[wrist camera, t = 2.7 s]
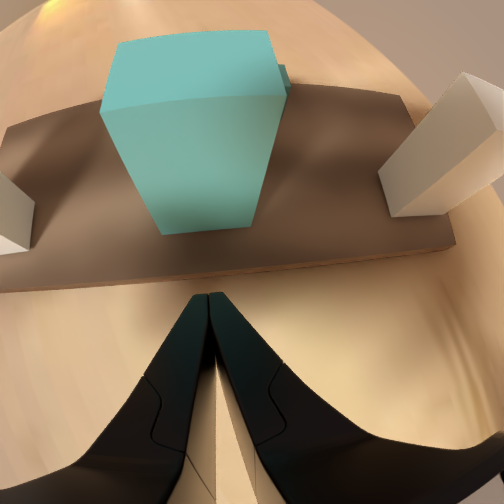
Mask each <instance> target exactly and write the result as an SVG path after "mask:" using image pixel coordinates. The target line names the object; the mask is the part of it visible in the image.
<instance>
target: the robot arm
mask: <svg viewBox="0 0 504 504" xmlns="http://www.w3.org/2000/svg"><path fill="white" fill-rule="evenodd" d="M216 364H217V369H218V374H219V377H220V381H221V385H222V389H223V392H224V396H225V399H226V403H227V407H228V410H229V414H230V417H231V420H232V424H233V427H234V431H235V434H236V437H237V441H238V444H239V447H240V450H241V453H242V457H243V460H244V463H245V466H246V469H247V472H248V475H249V478H250V481H251V484H252V487H253V490H254V493H255V496H256V499H257V502H258V504H504V431H499V432H497V433H495V434H493V435H492V436H491V437H489V438H488V439H486V440H485V441H483V442H482V443H481V444H479V445H477V446H475V447H471V448H467V449H459V450H452V449H442V448H435V447H428V446H422V445H416V444H410V443H405V442H399V441H394V440H389V439H385V438H381V437H378V436H375V435H373V434H371V433H368V432H367V431H365V430H363V429H361V428H360V427H359V426H357V425H356V424H354V423H353V422H352V421H350V420H349V419H348V418H346V417H345V416H344V415H343V414H341V413H340V412H339V411H337V410H336V409H335V408H334V407H332V406H331V405H330V404H328V403H327V402H326V401H325V400H323V399H322V398H321V397H320V396H319V395H317V394H316V393H315V392H314V391H313V390H312V389H310V388H309V387H308V386H307V385H306V384H305V383H304V382H303V381H302V380H301V379H300V378H299V377H298V376H297V375H296V374H295V373H294V372H293V371H292V370H291V369H290V368H289V367H288V366H287V365H286V363H283V360H282V359H281V358H280V357H279V356H278V355H277V354H276V353H275V351H274V350H273V349H272V348H271V347H270V346H269V345H268V344H267V343H266V341H265V340H264V339H263V338H262V337H261V336H260V335H259V333H258V332H257V331H256V330H255V329H254V328H253V327H252V325H251V324H250V323H249V322H248V321H247V320H246V319H245V317H244V316H243V315H242V314H241V313H240V312H239V310H238V309H237V308H236V307H235V306H234V305H233V303H232V302H231V301H230V300H229V299H228V298H227V296H226V295H225V294H224V293H223V292H216V293H210V294H209V295H208V294H195V295H193V296H192V298H191V299H190V301H189V302H188V304H187V306H186V307H185V309H184V310H183V312H182V313H181V315H180V317H179V318H178V320H177V321H176V323H175V324H174V326H173V328H172V329H171V331H170V332H169V334H168V336H167V337H166V339H165V340H164V342H163V344H162V345H161V347H160V348H159V350H158V352H157V353H156V355H155V356H154V358H153V360H152V361H151V363H150V364H149V366H148V368H147V369H146V371H145V372H144V374H143V375H144V376H142V377H141V379H140V380H139V382H138V384H137V385H136V387H135V388H134V390H133V391H132V393H131V395H130V396H129V398H128V399H127V401H126V402H125V403H124V405H123V406H122V407H121V409H120V410H119V411H118V413H117V414H116V415H115V417H114V418H113V419H112V420H111V422H110V423H109V424H108V425H107V427H106V428H105V429H104V430H103V432H102V433H101V434H100V435H99V437H98V438H97V439H96V440H95V442H94V443H93V444H92V445H91V447H90V448H89V449H88V450H87V451H86V453H85V454H84V455H83V456H82V457H81V458H79V459H78V460H77V461H76V462H74V463H73V464H71V465H69V466H67V467H65V468H62V469H60V470H58V471H55V472H53V473H50V474H47V475H45V476H42V477H40V478H37V479H34V480H31V481H29V482H26V483H23V484H20V485H17V486H14V487H11V488H7V489H3V490H0V504H216V502H215V501H216Z"/></svg>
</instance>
